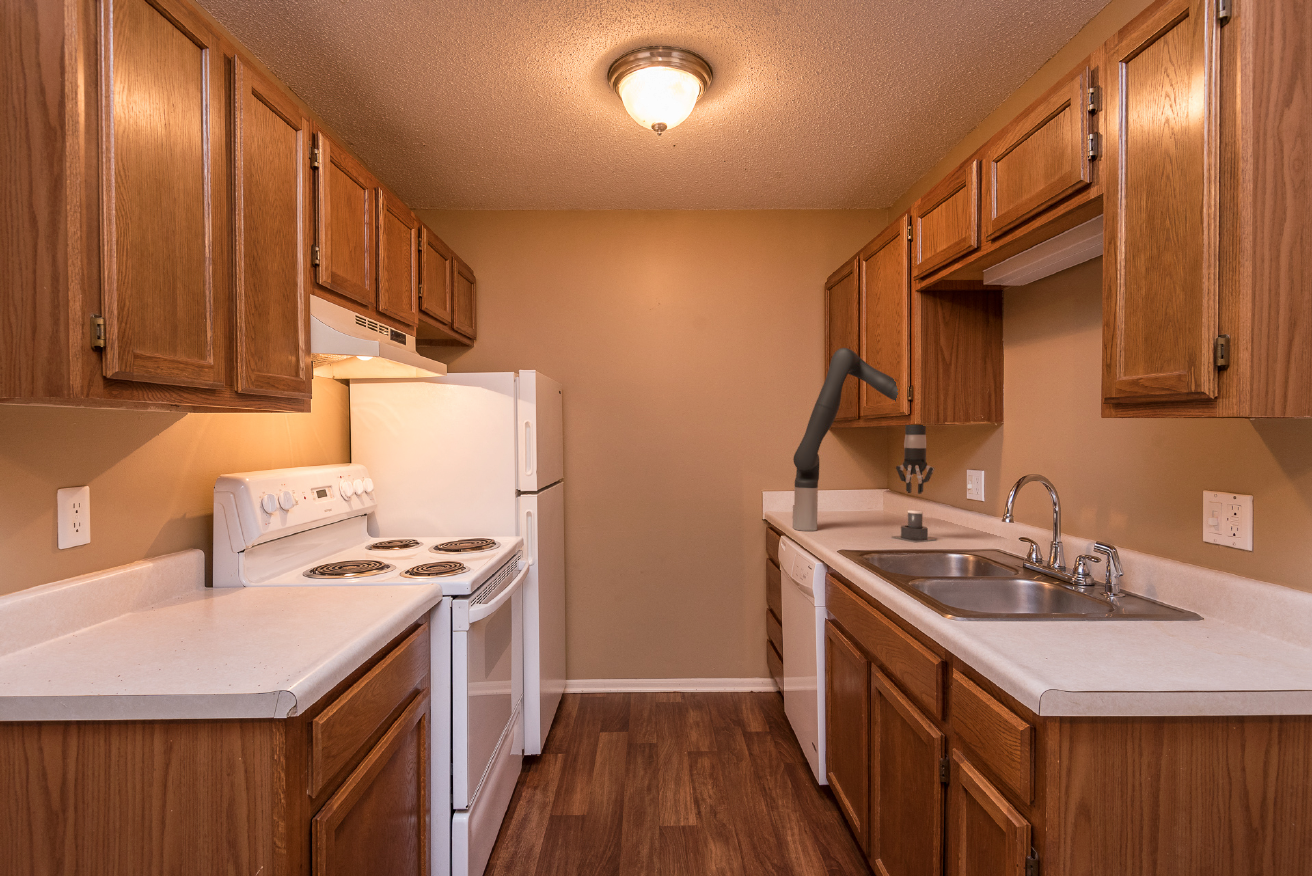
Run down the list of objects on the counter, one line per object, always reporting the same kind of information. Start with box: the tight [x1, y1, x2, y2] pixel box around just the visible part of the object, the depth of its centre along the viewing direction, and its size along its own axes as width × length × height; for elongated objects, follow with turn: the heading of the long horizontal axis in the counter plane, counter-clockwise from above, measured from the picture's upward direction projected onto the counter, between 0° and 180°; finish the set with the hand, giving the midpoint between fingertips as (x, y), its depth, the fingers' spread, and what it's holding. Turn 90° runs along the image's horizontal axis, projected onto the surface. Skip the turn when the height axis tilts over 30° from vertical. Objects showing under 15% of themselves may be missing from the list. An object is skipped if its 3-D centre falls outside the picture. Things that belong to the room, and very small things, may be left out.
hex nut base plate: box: [891, 524, 938, 543], centre depth 233 cm, size 11×11×4 cm
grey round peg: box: [907, 509, 924, 528], centre depth 232 cm, size 5×5×10 cm
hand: (914, 493), depth 233 cm, fingers open, 3 cm apart
